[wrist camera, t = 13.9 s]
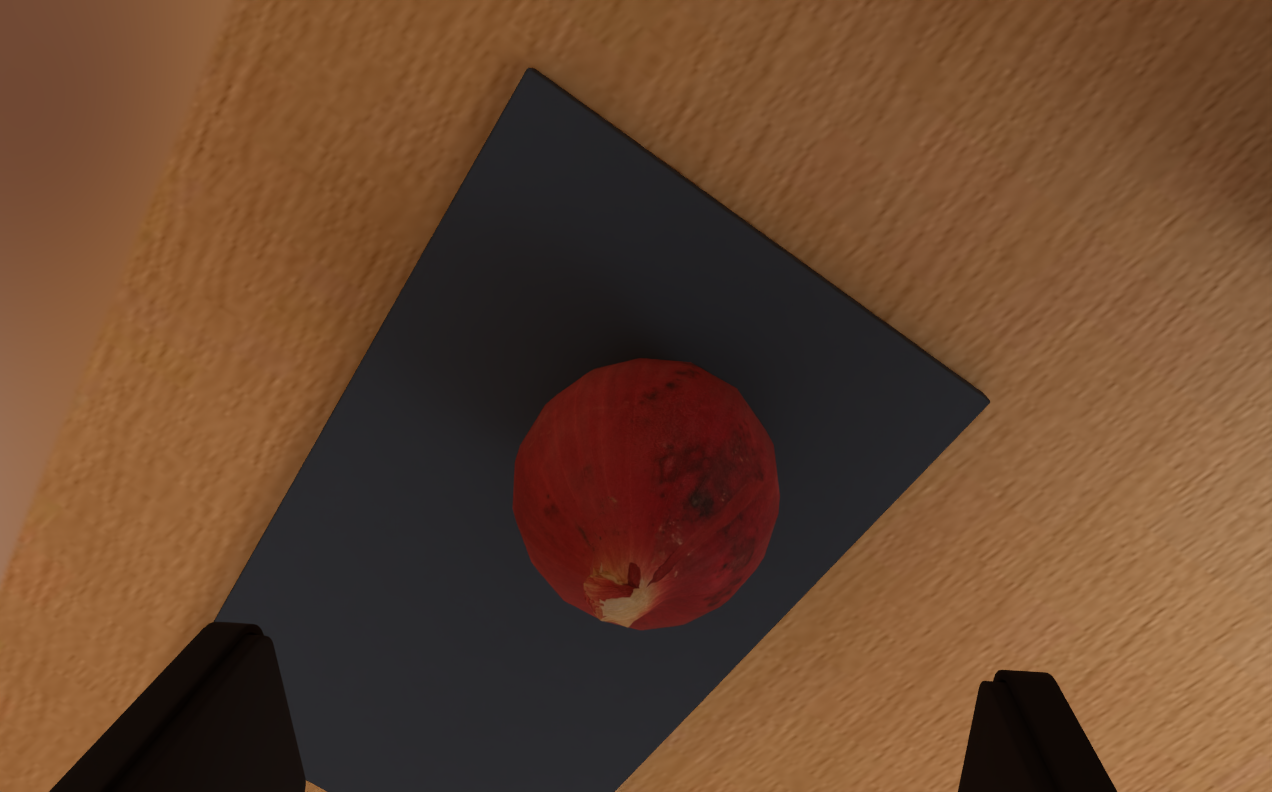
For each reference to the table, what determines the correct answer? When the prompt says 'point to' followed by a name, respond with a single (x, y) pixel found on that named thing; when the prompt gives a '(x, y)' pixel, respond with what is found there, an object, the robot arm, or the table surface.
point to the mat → (488, 446)
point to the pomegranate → (646, 493)
